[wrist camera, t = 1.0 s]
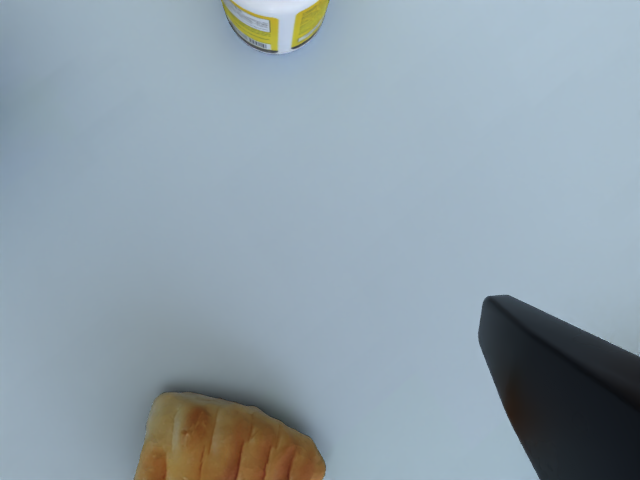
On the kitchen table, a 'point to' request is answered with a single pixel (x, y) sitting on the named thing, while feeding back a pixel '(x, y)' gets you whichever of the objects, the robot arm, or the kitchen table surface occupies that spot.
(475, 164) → the kitchen table surface
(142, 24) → the kitchen table surface
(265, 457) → the pastry
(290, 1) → the supplement bottle
